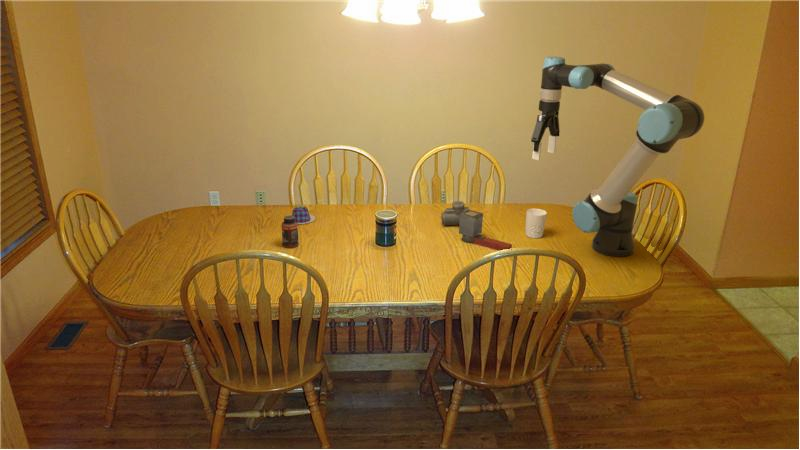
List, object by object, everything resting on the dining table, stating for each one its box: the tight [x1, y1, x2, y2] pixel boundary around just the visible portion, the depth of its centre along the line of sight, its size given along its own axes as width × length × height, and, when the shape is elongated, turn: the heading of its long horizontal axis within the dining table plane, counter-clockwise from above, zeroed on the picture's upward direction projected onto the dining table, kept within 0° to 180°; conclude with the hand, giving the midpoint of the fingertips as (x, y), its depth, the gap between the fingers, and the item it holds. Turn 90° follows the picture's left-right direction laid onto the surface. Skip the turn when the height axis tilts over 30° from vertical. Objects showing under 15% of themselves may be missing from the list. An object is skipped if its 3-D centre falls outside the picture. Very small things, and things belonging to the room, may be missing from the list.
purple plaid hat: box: [291, 206, 316, 225], centre depth 244 cm, size 12×12×5 cm
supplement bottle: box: [281, 214, 300, 249], centre depth 217 cm, size 6×6×11 cm
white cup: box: [525, 208, 548, 239], centre depth 232 cm, size 8×8×10 cm
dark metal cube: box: [458, 209, 484, 237], centre depth 225 cm, size 6×6×8 cm
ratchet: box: [461, 234, 513, 251], centre depth 222 cm, size 20×6×7 cm, turn 53°
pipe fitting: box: [440, 200, 470, 227], centre depth 241 cm, size 12×8×10 cm
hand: (543, 156), depth 225 cm, fingers open, 13 cm apart
